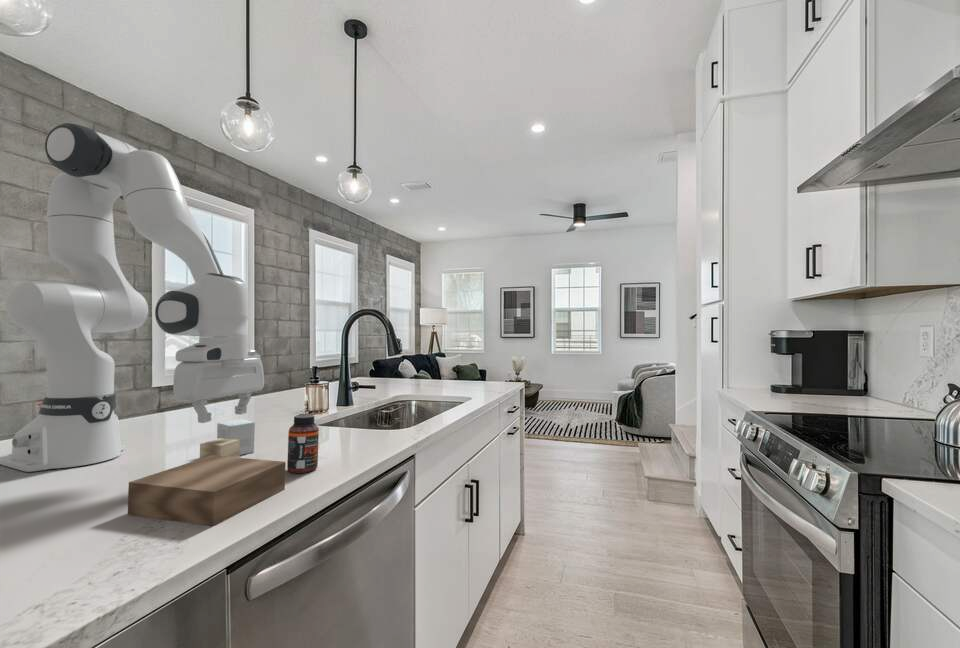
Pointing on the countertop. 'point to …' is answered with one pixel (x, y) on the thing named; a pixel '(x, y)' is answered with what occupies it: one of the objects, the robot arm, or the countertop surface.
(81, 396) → the robot arm
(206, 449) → the maple block
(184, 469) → the walnut base
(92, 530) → the countertop surface
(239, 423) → the product box
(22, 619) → the countertop surface
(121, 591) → the countertop surface
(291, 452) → the supplement bottle
